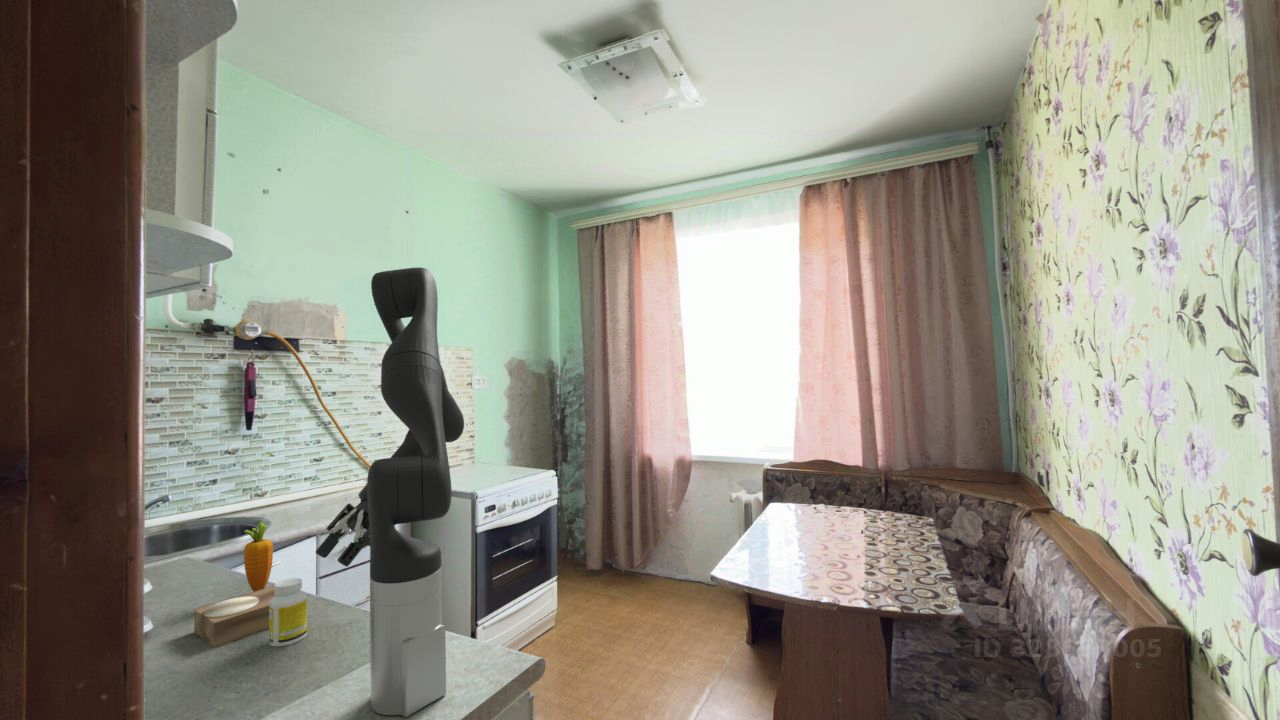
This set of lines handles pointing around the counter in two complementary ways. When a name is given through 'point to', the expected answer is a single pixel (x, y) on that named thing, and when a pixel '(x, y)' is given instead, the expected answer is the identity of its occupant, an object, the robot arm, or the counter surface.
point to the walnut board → (234, 617)
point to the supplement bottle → (287, 613)
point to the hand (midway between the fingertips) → (330, 559)
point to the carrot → (258, 558)
